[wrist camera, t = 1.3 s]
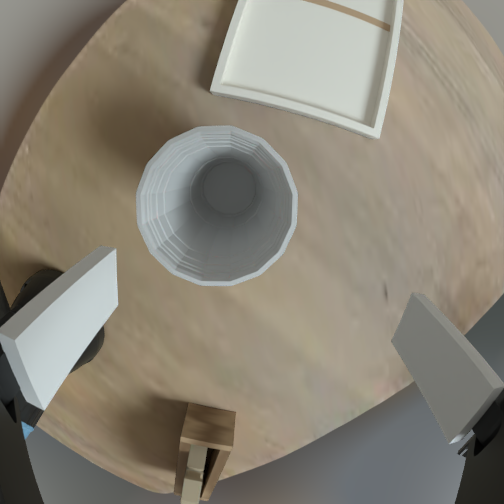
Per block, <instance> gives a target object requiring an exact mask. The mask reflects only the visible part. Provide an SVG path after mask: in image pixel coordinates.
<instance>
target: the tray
mask: <svg viewBox="0 0 504 504" xmlns="http://www.w3.org/2000/svg"><path fill="white" fill-rule="evenodd" d="M403 1H404V0H238V3H237V6H236V9H235V11H234V14H233V17H232V20H231V23H230V26H229V29H228V32H227V35H226V38H225V41H224V44H223V47H222V51H221V54H220V57H219V60H218V64H217V67H216V70H215V74H214V77H213V81H212V84H211V88H210V92H211V93H212V94H213V95H216V96H222V97H227V98H232V99H237V100H242V101H247V102H251V103H256V104H260V105H264V106H268V107H272V108H276V109H280V110H284V111H288V112H291V113H295V114H298V115H302V116H305V117H309V118H312V119H315V120H318V121H322V122H325V123H328V124H331V125H334V126H337V127H340V128H342V129H345V130H348V131H351V132H354V133H356V134H359V135H362V136H364V137H367V138H370V139H379V137H380V133H381V129H382V125H383V121H384V116H385V112H386V108H387V103H388V98H389V93H390V88H391V83H392V78H393V73H394V67H395V61H396V55H397V49H398V42H399V35H400V28H401V20H402V11H403Z"/></svg>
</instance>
